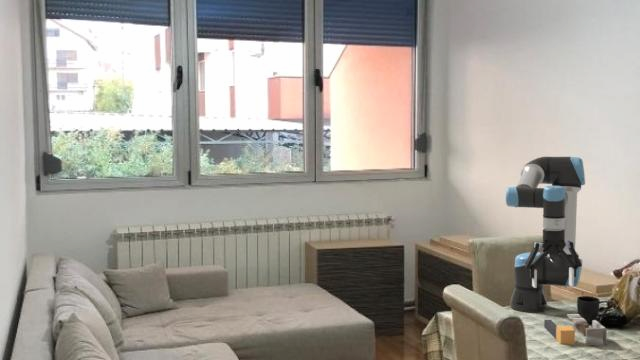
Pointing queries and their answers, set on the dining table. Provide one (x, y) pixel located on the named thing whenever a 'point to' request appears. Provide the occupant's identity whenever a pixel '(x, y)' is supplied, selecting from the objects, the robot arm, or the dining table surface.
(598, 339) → the rail
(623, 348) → the dining table surface
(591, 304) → the mug
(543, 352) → the dining table surface
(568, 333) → the grey and orange bar
